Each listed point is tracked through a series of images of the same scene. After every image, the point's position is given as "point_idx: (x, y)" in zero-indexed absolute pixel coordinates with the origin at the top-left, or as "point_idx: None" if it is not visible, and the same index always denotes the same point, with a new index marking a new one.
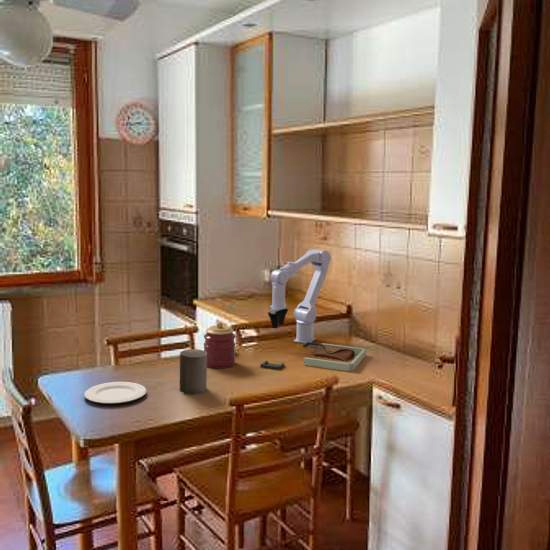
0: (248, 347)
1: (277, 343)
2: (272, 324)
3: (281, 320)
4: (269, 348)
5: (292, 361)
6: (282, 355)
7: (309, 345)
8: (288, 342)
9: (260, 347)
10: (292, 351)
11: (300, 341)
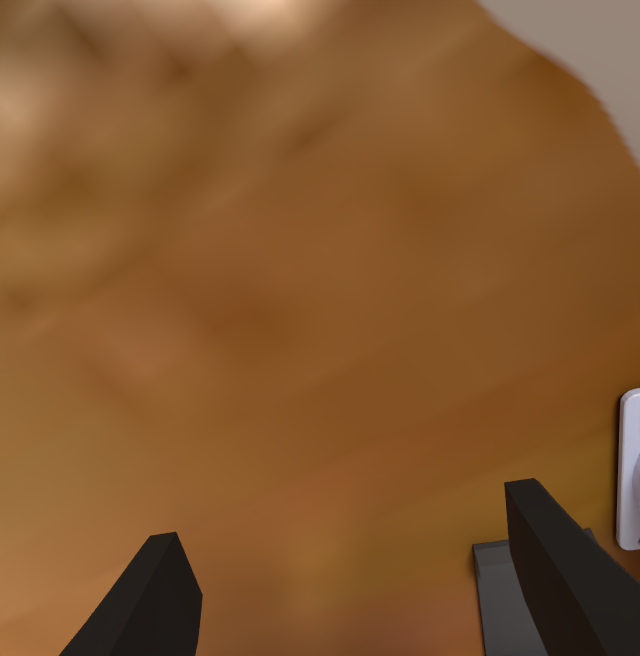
0: (14, 50)
1: (459, 272)
2: (114, 603)
3: (540, 607)
4: (193, 314)
5: (15, 652)
6: (84, 532)
7: None
8: (576, 353)
9: (147, 198)
10: (267, 538)
11: (633, 468)
